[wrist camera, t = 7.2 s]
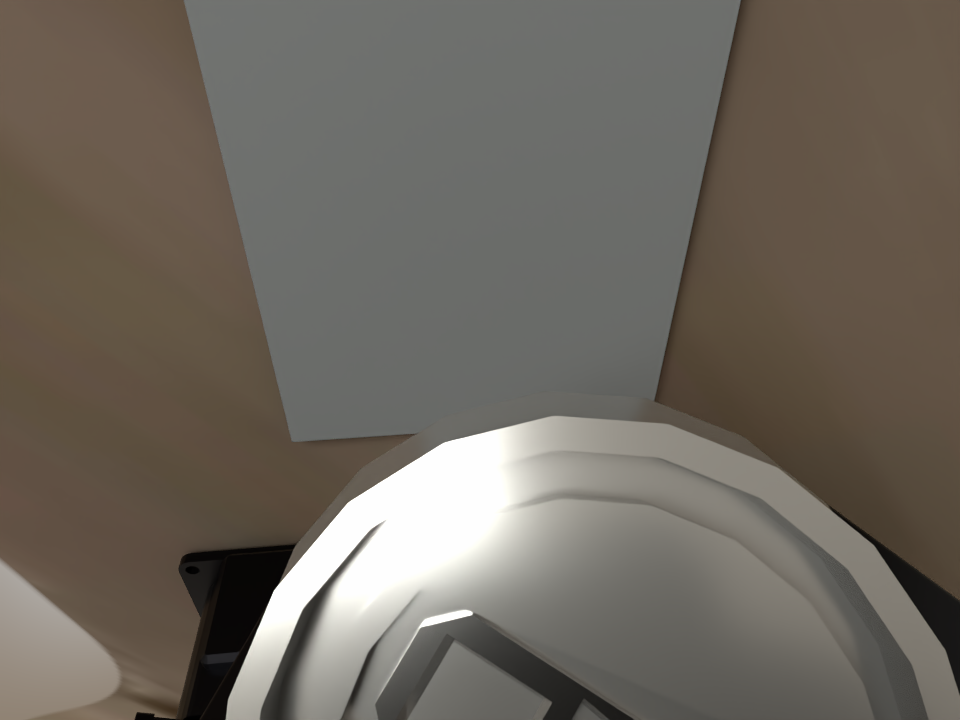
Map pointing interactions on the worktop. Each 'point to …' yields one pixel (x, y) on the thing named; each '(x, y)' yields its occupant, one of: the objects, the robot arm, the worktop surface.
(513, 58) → the grey mat
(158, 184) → the worktop surface
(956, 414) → the worktop surface
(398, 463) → the beer can
